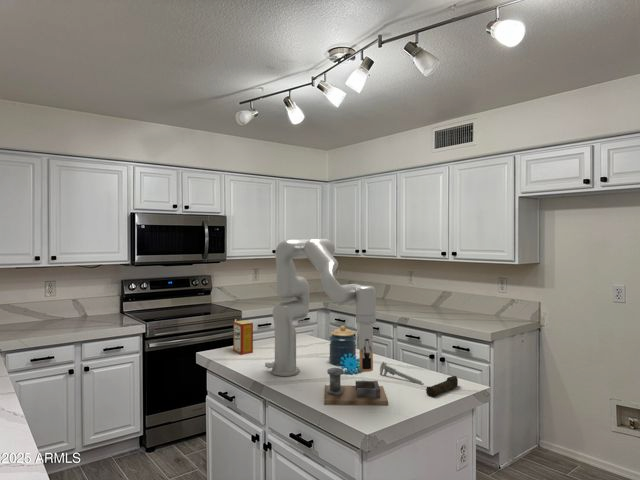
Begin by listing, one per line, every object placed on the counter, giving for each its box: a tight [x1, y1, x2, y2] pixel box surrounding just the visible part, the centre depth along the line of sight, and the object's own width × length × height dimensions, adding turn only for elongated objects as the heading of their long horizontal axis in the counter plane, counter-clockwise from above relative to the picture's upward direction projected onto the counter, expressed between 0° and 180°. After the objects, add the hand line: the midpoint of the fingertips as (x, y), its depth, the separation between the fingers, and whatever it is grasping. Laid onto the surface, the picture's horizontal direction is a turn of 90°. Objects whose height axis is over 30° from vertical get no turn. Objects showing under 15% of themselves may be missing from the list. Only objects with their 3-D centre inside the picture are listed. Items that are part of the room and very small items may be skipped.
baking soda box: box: [232, 319, 254, 356], centre depth 231 cm, size 10×6×16 cm
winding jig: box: [323, 367, 389, 406], centre depth 167 cm, size 23×16×10 cm
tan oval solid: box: [359, 347, 374, 373], centre depth 167 cm, size 5×5×8 cm
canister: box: [328, 325, 357, 366], centre depth 213 cm, size 13×13×18 cm
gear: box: [339, 353, 361, 375], centre depth 199 cm, size 11×6×10 cm
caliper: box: [379, 361, 425, 386], centre depth 187 cm, size 20×1×6 cm, turn 52°
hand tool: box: [425, 375, 459, 398], centre depth 173 cm, size 19×4×5 cm, turn 129°
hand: (366, 366), depth 167 cm, fingers closed on tan oval solid, 4 cm apart
